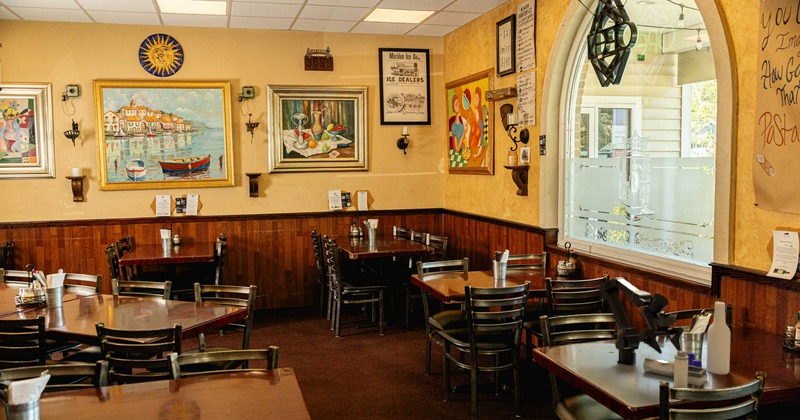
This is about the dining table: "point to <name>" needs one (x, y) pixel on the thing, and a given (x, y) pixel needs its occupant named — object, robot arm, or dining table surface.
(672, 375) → the grey cylinder with box
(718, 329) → the alcohol
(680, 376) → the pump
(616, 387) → the dining table surface
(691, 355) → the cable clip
